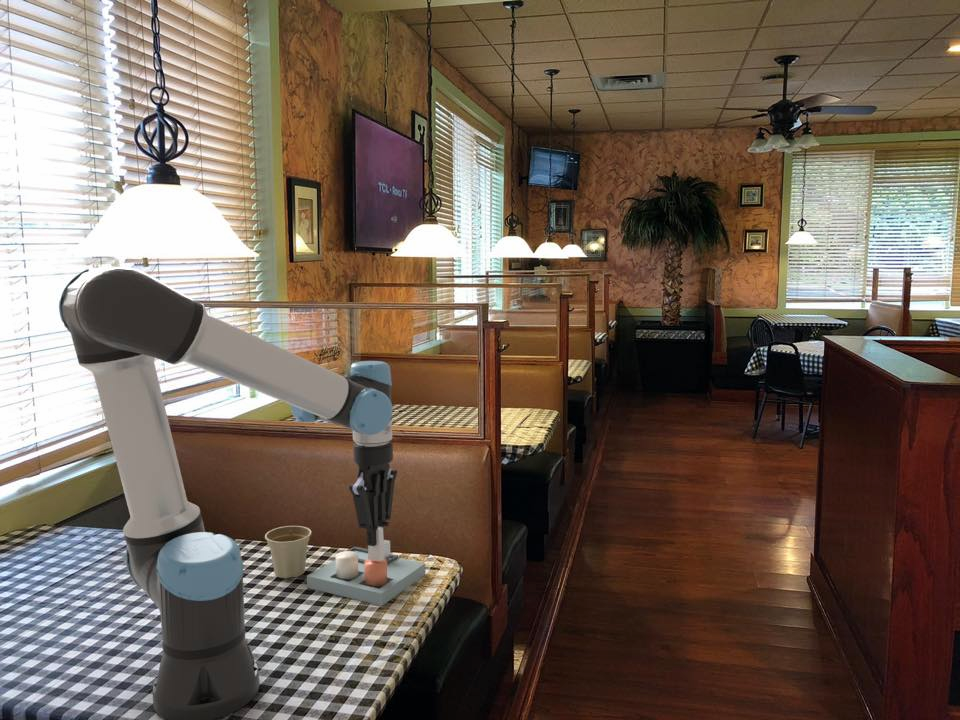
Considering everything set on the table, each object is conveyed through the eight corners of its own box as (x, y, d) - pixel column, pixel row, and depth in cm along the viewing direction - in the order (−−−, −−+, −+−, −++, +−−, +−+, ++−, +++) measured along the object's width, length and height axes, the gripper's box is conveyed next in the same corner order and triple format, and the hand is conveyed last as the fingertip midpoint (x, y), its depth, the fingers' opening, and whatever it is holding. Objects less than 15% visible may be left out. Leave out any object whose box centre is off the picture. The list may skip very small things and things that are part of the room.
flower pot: (306, 582, 152) (305, 542, 151) (260, 582, 152) (258, 541, 151) (317, 564, 161) (316, 525, 160) (274, 564, 161) (272, 525, 160)
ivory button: (349, 580, 147) (348, 561, 146) (331, 576, 149) (331, 557, 148) (362, 572, 150) (362, 553, 150) (345, 568, 152) (344, 549, 152)
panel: (381, 605, 141) (381, 590, 141) (307, 587, 149) (306, 573, 149) (425, 574, 155) (425, 560, 155) (355, 559, 164) (354, 546, 163)
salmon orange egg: (378, 587, 143) (378, 567, 143) (360, 583, 145) (359, 563, 145) (391, 578, 147) (391, 559, 147) (373, 574, 149) (372, 555, 149)
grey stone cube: (382, 563, 155) (382, 545, 154) (371, 561, 156) (371, 543, 155) (390, 559, 157) (390, 540, 157) (379, 556, 158) (379, 538, 158)
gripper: (369, 451, 135) (372, 575, 138) (407, 436, 147) (410, 550, 150) (336, 447, 139) (340, 568, 142) (376, 432, 150) (379, 544, 153)
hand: (376, 559), depth 146 cm, fingers closed
